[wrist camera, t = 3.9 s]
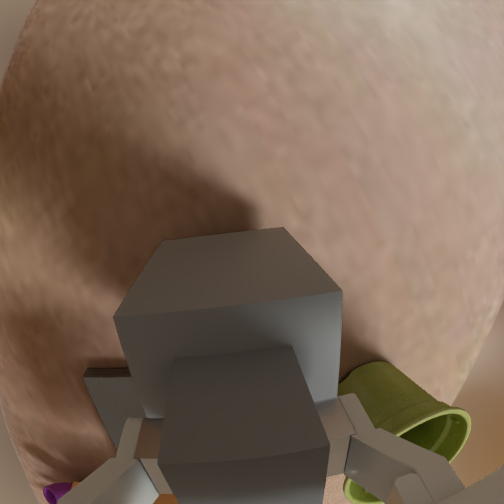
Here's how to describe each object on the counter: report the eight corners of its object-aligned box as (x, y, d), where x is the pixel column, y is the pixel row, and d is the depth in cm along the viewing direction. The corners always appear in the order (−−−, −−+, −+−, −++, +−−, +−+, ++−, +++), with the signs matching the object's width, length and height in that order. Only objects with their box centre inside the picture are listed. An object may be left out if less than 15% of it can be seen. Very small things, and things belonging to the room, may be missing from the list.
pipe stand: (87, 368, 20) (16, 514, 7) (250, 358, 21) (284, 538, 8) (134, 467, 23) (114, 587, 10) (262, 462, 24) (286, 591, 11)
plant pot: (422, 328, 22) (488, 389, 14) (406, 413, 25) (450, 475, 16) (310, 356, 22) (351, 443, 13) (311, 440, 24) (338, 518, 16)
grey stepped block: (162, 240, 17) (60, 409, 5) (283, 227, 18) (412, 370, 5) (182, 345, 19) (157, 543, 7) (289, 332, 19) (363, 519, 7)
